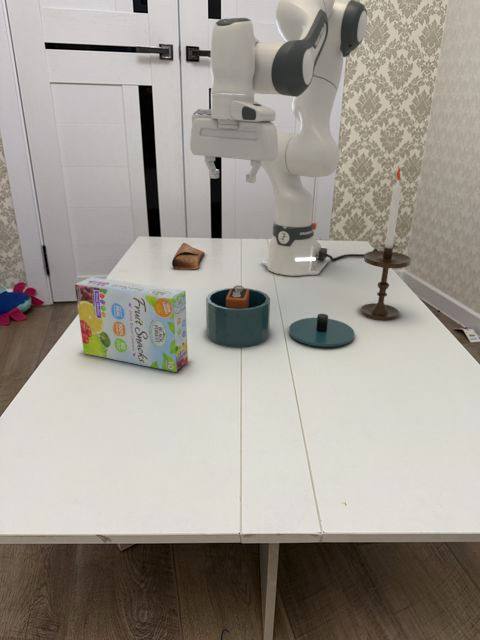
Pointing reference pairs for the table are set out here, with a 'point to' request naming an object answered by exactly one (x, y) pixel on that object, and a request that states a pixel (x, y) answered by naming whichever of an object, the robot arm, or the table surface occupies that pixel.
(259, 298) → the pot
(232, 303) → the battery
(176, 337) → the snack box
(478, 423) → the table surface
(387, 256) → the candlestick
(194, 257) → the sunglasses case
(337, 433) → the table surface
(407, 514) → the table surface
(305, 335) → the lid
